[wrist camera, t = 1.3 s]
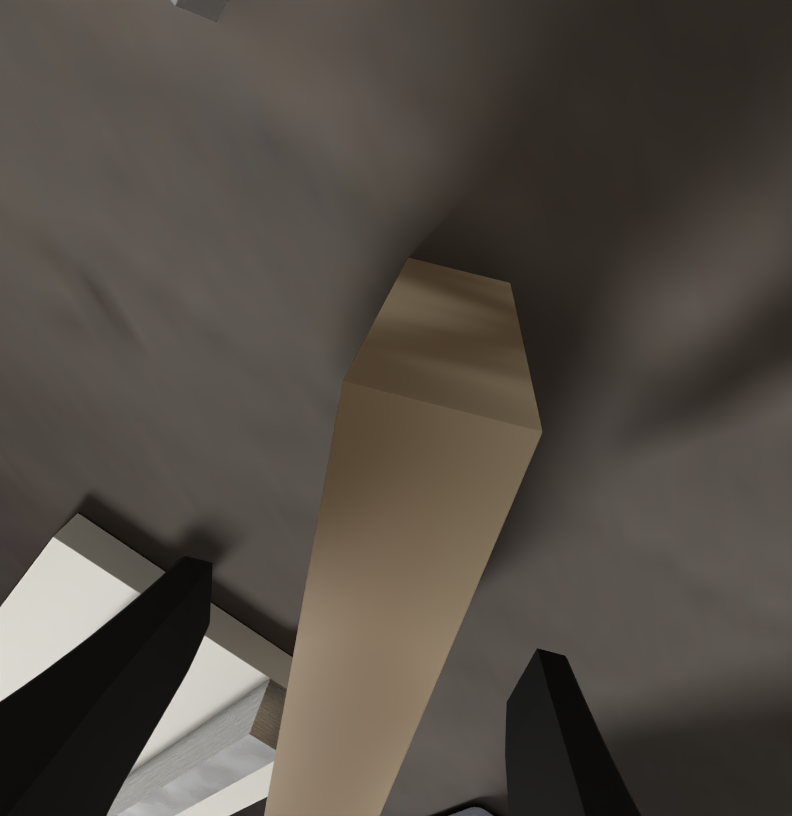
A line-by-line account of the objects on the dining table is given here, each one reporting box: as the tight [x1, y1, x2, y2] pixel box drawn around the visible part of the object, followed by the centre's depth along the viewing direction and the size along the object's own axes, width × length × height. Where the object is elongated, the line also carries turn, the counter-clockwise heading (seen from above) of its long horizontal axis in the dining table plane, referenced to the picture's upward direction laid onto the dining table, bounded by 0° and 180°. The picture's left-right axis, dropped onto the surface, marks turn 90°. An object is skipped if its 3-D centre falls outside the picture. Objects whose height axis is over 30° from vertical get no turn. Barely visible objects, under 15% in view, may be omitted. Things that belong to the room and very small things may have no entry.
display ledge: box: [0, 513, 293, 816], centre depth 22 cm, size 14×20×3 cm
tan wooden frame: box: [264, 257, 542, 816], centre depth 13 cm, size 3×14×7 cm, turn 168°
